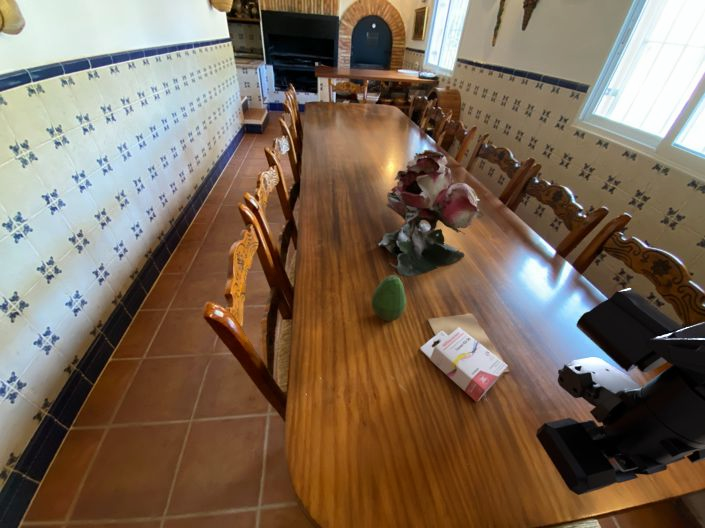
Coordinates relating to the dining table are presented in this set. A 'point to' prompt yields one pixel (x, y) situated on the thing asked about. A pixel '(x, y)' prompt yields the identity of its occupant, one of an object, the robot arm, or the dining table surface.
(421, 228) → the rose bouquet
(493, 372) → the ink cartridge box
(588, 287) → the dining table surface
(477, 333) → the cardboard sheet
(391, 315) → the avocado
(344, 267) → the dining table surface
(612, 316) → the robot arm
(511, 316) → the dining table surface
